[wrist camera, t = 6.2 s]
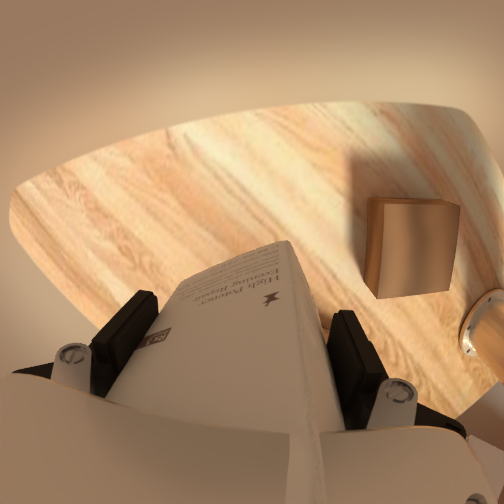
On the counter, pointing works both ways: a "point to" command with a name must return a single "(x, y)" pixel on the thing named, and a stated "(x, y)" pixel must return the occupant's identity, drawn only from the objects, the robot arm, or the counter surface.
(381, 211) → the walnut block
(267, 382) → the skincare box
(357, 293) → the counter surface
